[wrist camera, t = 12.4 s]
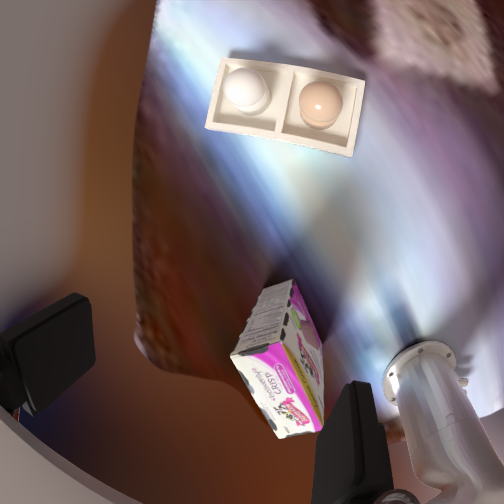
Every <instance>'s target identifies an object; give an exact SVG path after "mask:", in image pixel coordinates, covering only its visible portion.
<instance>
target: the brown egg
mask: <svg viewBox="0 0 504 504" xmlns="http://www.w3.org/2000/svg"><path fill="white" fill-rule="evenodd" d="M342 107H343V98H342V95H341V93H340V91H339V90H338V89H337V88H336V87H335V86H334V85H333V84H331V83H329V82H326V81H314V82H311V83H309V84H307V85H306V86H305V87H304V88H303V89H302V91H301V92H300V95H299V110H300V116H301V119H302V120H303V122H304V123H305V124H306V125H307V126H309V127H310V128H313V129H316V130H324V129H328V128H330V127H331V126H332V125H334V123H335V122H336V120H337V118H338V116H339V114H340V112H341V110H342Z"/></svg>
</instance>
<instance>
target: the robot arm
mask: <svg viewBox="0 0 504 504" xmlns="http://www.w3.org/2000/svg"><path fill="white" fill-rule="evenodd" d="M95 360H96V356H95V347H94V337H93V326H92V309H91V304H90V303H89V300H88V298H87V297H85V296H83V295H80V294H78V293H72V294H70V295H68V296H66V297H65V298H63V299H61V300H59V301H57V302H55V303H54V304H52V305H50V306H48V307H46V308H44V309H42V310H41V311H39V312H37V313H35V314H33V315H32V316H30V317H28V318H26V319H25V320H23V321H21V322H19V323H17V324H16V325H14V326H12V327H11V328H9V329H7V330H6V331H4V332H2V333H0V504H143V503H140V502H138V501H136V500H134V499H132V498H130V497H128V496H125V495H124V494H122V493H120V492H118V491H116V490H114V489H113V488H111V487H109V486H107V485H105V484H104V483H102V482H100V481H98V480H97V479H95V478H93V477H92V476H90V475H88V474H87V473H85V472H84V471H82V470H81V469H79V468H77V467H76V466H74V465H73V464H71V463H70V462H69V461H67V460H66V459H64V458H63V457H61V456H60V455H58V454H57V453H56V452H54V451H53V450H52V449H50V448H49V447H48V446H46V445H45V444H44V443H43V442H41V441H40V440H39V439H38V438H36V437H35V436H34V435H33V434H31V433H30V432H29V431H28V430H27V429H26V428H24V427H23V426H22V425H21V424H20V423H19V422H18V421H19V420H18V419H19V409H20V408H19V407H20V406H21V405H23V407H24V409H25V410H26V411H27V412H28V413H30V414H31V415H32V416H34V415H35V414H37V413H38V412H42V411H43V410H45V409H46V408H47V407H48V406H49V405H50V404H51V403H52V402H53V401H54V400H55V399H57V398H58V397H59V396H60V395H61V394H62V393H63V392H64V391H66V390H67V389H68V388H69V387H70V386H71V385H72V384H73V383H74V382H76V381H77V380H78V379H79V378H80V377H81V376H82V375H83V374H85V373H86V372H87V371H88V370H89V369H90V368H91V367H92V366H93V365H94V363H95ZM455 370H456V357H455V355H454V353H453V351H452V350H451V349H450V347H448V346H447V345H446V344H444V343H442V342H438V341H425V342H420V343H418V344H415V345H413V346H411V347H409V348H407V349H405V350H404V351H403V352H401V353H400V354H399V355H398V356H396V357H395V358H394V359H393V361H392V362H391V363H390V364H389V366H388V367H387V369H386V371H385V373H384V376H383V380H382V388H383V392H384V395H385V397H386V399H387V400H388V401H389V402H390V403H392V404H393V405H395V406H398V409H399V413H400V416H401V420H402V424H403V428H404V432H405V436H406V440H407V444H408V448H409V453H410V457H411V462H412V466H413V470H414V473H415V475H416V477H417V478H418V479H419V480H420V481H421V482H422V483H424V484H425V485H427V486H430V487H432V488H435V489H438V490H441V492H440V493H439V495H437V496H436V497H434V498H432V499H430V500H429V501H427V502H426V503H424V504H504V464H503V463H502V461H501V459H500V458H499V456H498V454H497V453H496V451H495V449H494V447H493V445H492V443H491V441H490V440H489V438H488V436H487V434H486V432H485V430H484V428H483V426H482V424H481V422H480V420H479V418H478V416H477V414H476V412H475V410H474V408H473V406H472V404H471V403H470V401H469V399H468V397H467V395H466V394H467V392H466V390H465V389H463V388H462V387H466V386H467V384H468V379H467V378H459V376H458V375H457V373H456V371H455ZM311 504H420V502H419V500H418V499H417V497H416V496H415V495H413V494H412V493H411V492H409V491H406V490H403V489H394V485H393V478H392V471H391V464H390V457H389V451H388V445H387V440H386V434H385V429H384V426H383V424H382V423H378V419H377V414H376V408H375V403H374V398H373V393H372V388H371V384H370V383H367V382H361V381H355V380H354V381H352V382H351V384H346V385H345V386H344V388H343V390H342V392H341V394H340V396H339V398H338V400H337V402H336V404H335V406H334V407H333V409H332V411H331V413H330V415H329V417H328V419H327V420H326V422H325V424H324V426H323V427H322V429H321V431H320V433H319V435H318V437H317V441H316V452H315V466H314V478H313V488H312V498H311Z"/></svg>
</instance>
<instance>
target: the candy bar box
mask: <svg viewBox="0 0 504 504" xmlns="http://www.w3.org/2000/svg"><path fill="white" fill-rule="evenodd" d="M230 357H231V359H232V361H233V363H234V364H235V366H236V368H237V370H238V371H239V373H240V375H241V377H242V378H243V380H244V382H245V384H246V386H247V387H248V389H249V391H250V392H251V394H252V396H253V397H254V399H255V401H256V403H257V404H258V406H259V408H260V409H261V411H262V413H263V414H264V416H265V417H266V419H267V421H268V422H269V424H270V426H271V427H272V429H273V430H274V432H275V433H276V435H277V436H278V438H279V439H280V438H285V437H291V436H294V435H301V434H305V433H307V432H309V433H313V432H316V431H320V430H321V429H322V427H323V426H324V383H323V345H322V343H321V340H320V338H319V336H318V333H317V331H316V328H315V326H314V324H313V321H312V319H311V317H310V314H309V312H308V310H307V307H306V305H305V302H304V300H303V298H302V295H301V293H300V291H299V288H298V286H297V284H296V281H295V279H294V278H293V279H290V280H287V281H285V282H282V283H280V284H277V285H274V286H271V287H268V288H265V289H262V291H261V293H260V295H259V297H258V299H257V301H256V303H255V306H254V308H253V310H252V312H251V314H250V316H249V318H248V320H247V322H246V324H245V326H244V328H243V330H242V333H241V335H240V336H239V338H238V341H237V343H236V344H235V347H234V348H233V351H232V353H231V354H230Z"/></svg>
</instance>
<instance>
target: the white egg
mask: <svg viewBox="0 0 504 504" xmlns="http://www.w3.org/2000/svg"><path fill="white" fill-rule="evenodd" d="M223 92H224V95H225V97H226V98H227V100H228V101H229V102H230V103H231V104H232V105H234V106H235V107H236V108H237V109H238V110H239V111H240V112H241V113H243V114H245V115H249V116H254V115H259V114H261V113H263V112H264V111H265V110H267V108H268V107H269V105H270V103H271V93H270V91H269V88H268V86H267V84H266V82H265V80H264V78H263V77H262V75H261V74H260V73H259V72H257V71H256V70H254V69H251V68H238V69H236V70H233V71H232V72H230V73H229V74H228V75H227V77H226V78H225V80H224V83H223Z"/></svg>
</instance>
